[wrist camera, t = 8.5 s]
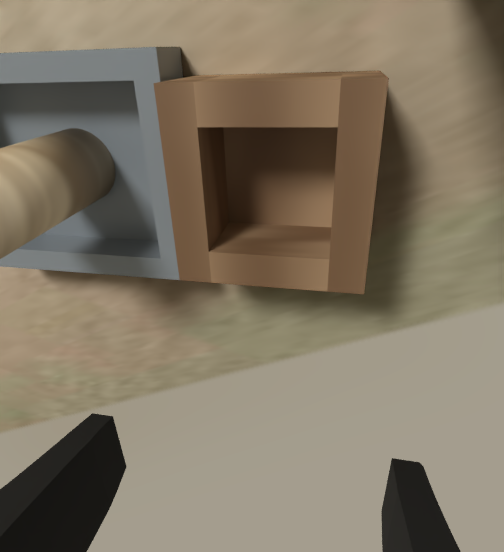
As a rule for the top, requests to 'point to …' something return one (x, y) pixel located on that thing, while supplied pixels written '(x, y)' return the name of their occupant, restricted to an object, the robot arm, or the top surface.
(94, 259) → the tray
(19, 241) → the dowel
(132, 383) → the top surface
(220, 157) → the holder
